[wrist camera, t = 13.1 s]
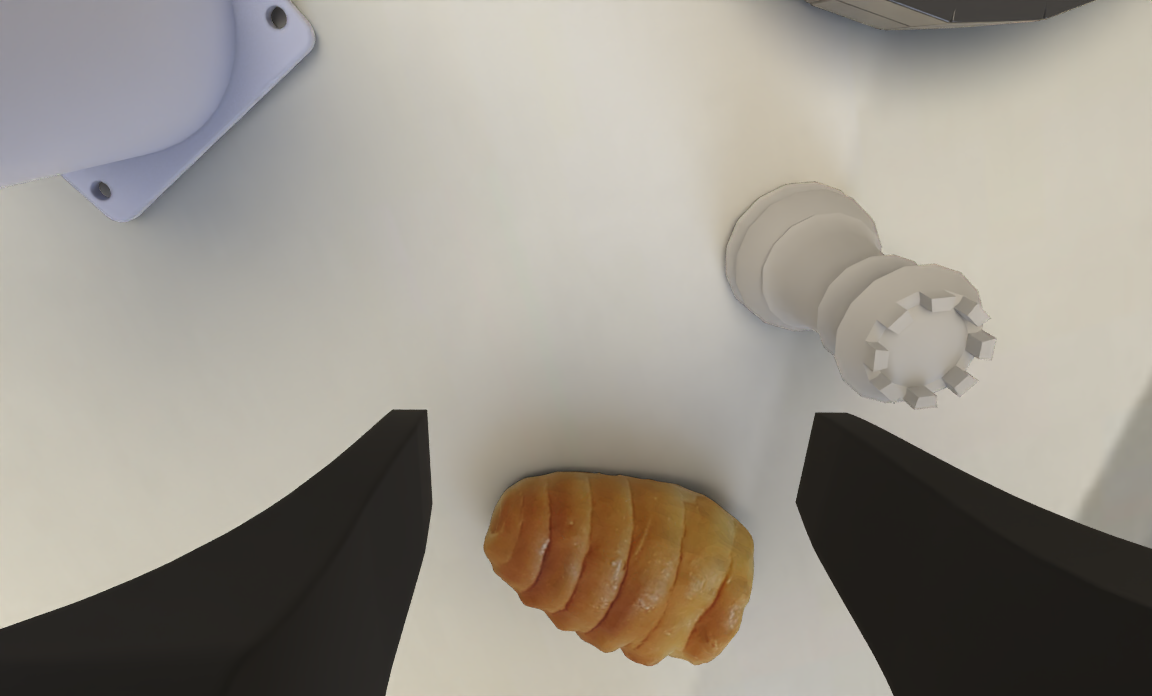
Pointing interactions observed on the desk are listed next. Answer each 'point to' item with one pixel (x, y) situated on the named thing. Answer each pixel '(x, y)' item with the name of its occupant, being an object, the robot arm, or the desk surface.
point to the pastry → (625, 562)
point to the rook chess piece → (857, 295)
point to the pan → (945, 12)
